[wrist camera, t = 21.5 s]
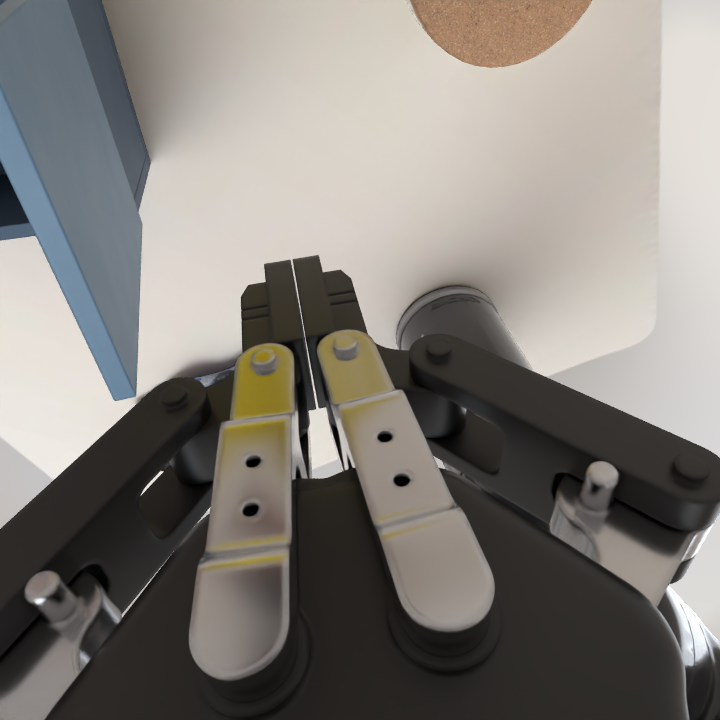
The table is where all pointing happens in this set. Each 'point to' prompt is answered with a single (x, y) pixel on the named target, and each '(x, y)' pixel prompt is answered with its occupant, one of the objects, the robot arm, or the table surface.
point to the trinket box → (496, 27)
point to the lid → (71, 180)
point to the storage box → (3, 209)
